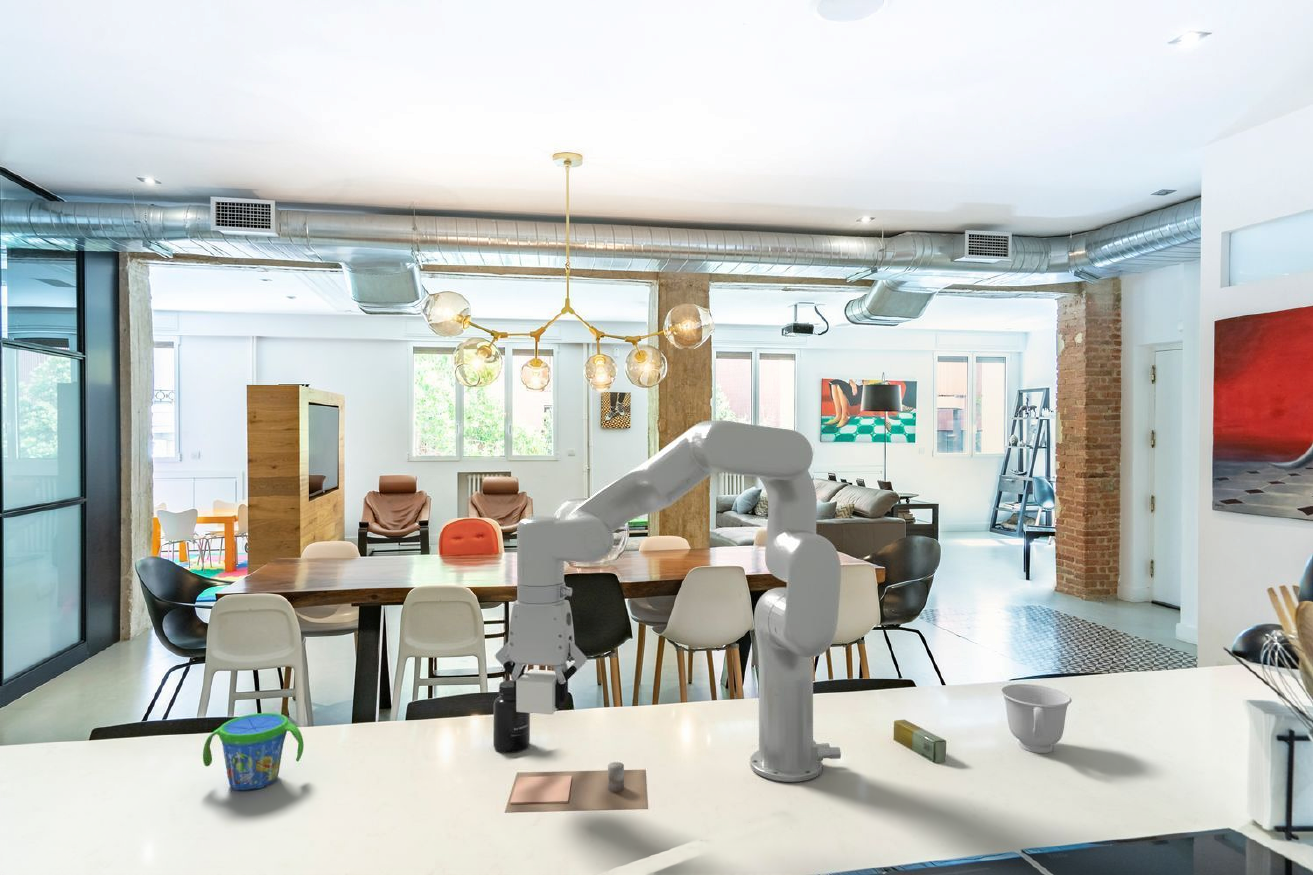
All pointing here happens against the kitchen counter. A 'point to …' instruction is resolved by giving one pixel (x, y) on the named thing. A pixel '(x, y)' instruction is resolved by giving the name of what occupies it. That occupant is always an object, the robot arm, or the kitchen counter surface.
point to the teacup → (1036, 715)
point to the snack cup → (253, 748)
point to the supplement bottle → (509, 722)
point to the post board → (579, 790)
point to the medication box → (920, 741)
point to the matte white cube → (536, 692)
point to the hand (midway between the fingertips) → (540, 703)
